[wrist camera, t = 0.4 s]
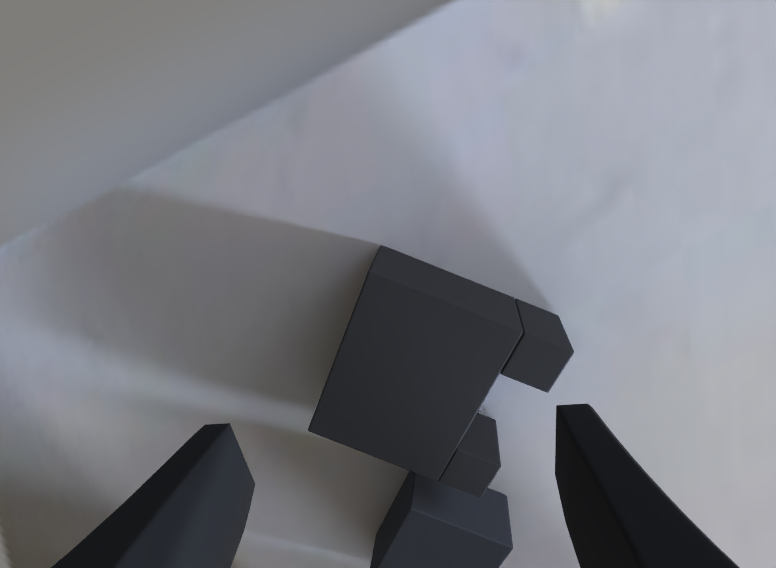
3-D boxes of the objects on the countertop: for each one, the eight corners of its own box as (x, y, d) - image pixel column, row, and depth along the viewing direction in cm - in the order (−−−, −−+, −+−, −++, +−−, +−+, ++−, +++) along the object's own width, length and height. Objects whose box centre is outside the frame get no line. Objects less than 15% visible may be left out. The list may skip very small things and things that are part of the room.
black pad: (478, 449, 23) (481, 498, 20) (325, 389, 23) (307, 431, 20) (559, 315, 20) (575, 352, 17) (381, 244, 20) (368, 270, 17)
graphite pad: (507, 495, 24) (514, 548, 21) (447, 583, 27) (446, 639, 24) (415, 459, 24) (409, 508, 21) (366, 552, 27) (356, 605, 24)
